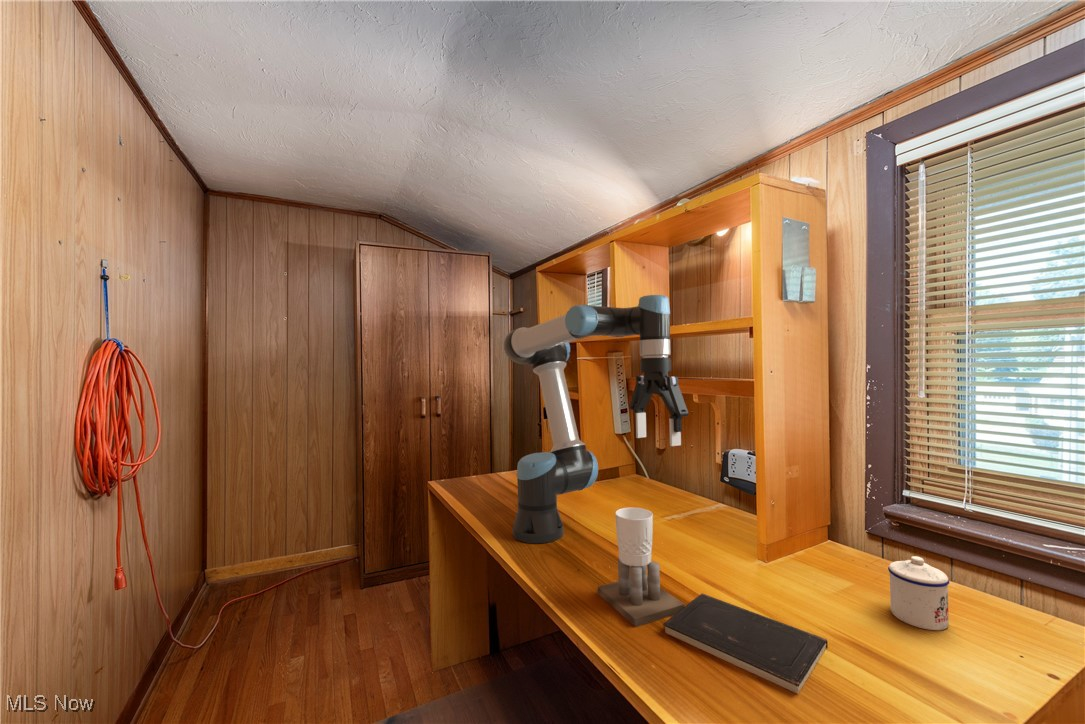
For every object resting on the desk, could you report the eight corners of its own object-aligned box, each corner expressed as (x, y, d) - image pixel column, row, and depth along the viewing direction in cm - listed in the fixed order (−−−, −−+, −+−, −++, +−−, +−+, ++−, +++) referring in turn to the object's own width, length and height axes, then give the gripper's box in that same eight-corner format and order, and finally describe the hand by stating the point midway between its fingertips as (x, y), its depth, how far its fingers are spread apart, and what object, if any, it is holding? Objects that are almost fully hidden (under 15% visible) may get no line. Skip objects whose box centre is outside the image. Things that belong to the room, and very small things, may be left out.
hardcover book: (798, 699, 68) (798, 684, 68) (663, 635, 84) (662, 623, 84) (827, 650, 79) (827, 637, 79) (703, 602, 95) (702, 592, 95)
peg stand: (597, 593, 99) (596, 554, 99) (642, 581, 104) (641, 544, 104) (635, 626, 86) (634, 582, 86) (684, 611, 91) (683, 569, 91)
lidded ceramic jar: (949, 638, 81) (948, 573, 81) (886, 619, 87) (884, 559, 87) (951, 610, 89) (950, 551, 89) (893, 595, 96) (892, 540, 96)
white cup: (654, 569, 92) (653, 520, 92) (615, 566, 93) (614, 518, 93) (653, 553, 99) (652, 508, 99) (617, 551, 101) (616, 506, 101)
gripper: (702, 355, 103) (705, 447, 103) (638, 357, 126) (640, 433, 126) (676, 356, 101) (679, 451, 100) (615, 358, 123) (617, 435, 123)
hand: (657, 441), depth 113 cm, fingers open, 13 cm apart
